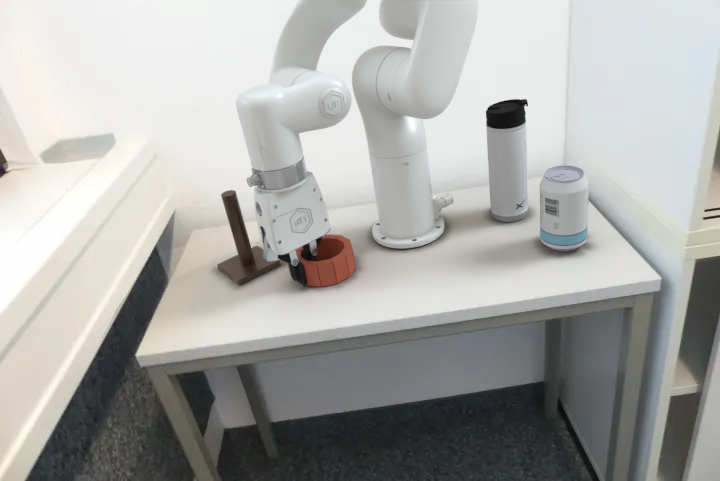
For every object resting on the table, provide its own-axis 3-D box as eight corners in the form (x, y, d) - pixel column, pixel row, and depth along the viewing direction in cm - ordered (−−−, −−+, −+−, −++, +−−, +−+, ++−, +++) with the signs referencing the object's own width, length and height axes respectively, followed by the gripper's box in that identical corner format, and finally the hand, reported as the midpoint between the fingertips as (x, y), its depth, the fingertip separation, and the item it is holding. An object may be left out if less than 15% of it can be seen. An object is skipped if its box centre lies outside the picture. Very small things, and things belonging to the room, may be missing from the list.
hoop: (333, 249, 103) (329, 229, 101) (367, 267, 96) (363, 246, 94) (287, 272, 99) (282, 252, 97) (319, 293, 92) (314, 271, 90)
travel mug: (530, 221, 101) (528, 106, 92) (490, 223, 103) (484, 110, 93) (529, 205, 106) (527, 94, 97) (491, 206, 108) (485, 98, 98)
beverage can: (596, 248, 91) (598, 175, 85) (553, 259, 90) (554, 186, 84) (572, 229, 97) (573, 160, 91) (532, 239, 96) (531, 170, 90)
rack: (258, 250, 107) (238, 178, 101) (281, 265, 101) (261, 190, 95) (218, 269, 103) (195, 196, 97) (239, 285, 98) (216, 209, 91)
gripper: (245, 199, 80) (276, 310, 89) (339, 159, 87) (359, 265, 96) (221, 186, 86) (252, 292, 94) (311, 149, 93) (332, 251, 102)
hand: (306, 278), depth 95 cm, fingers closed on hoop, 1 cm apart
